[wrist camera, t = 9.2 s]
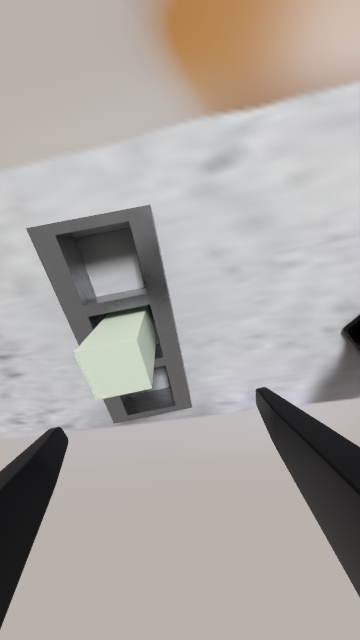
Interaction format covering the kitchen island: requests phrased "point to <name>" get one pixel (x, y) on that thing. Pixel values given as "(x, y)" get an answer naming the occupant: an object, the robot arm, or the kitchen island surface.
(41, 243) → the slotted holder
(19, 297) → the kitchen island surface
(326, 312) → the kitchen island surface
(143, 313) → the peg
